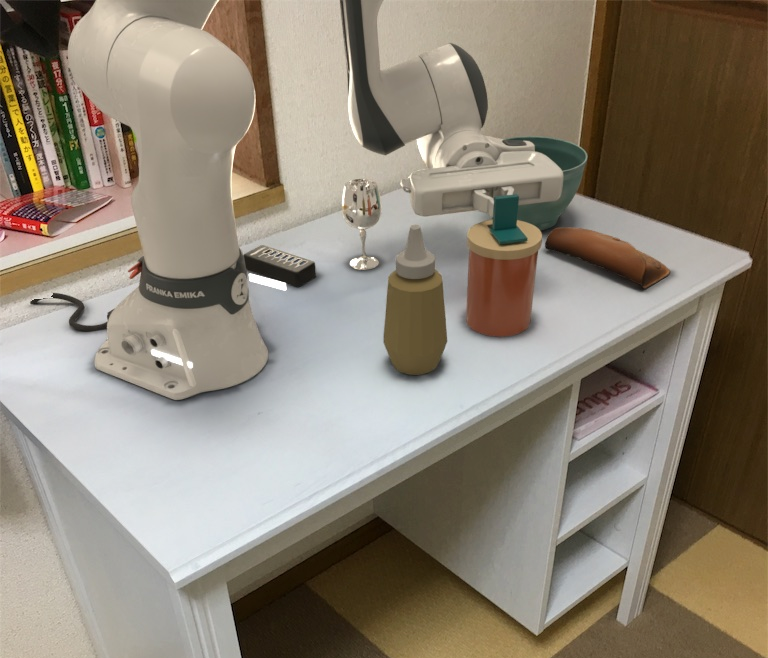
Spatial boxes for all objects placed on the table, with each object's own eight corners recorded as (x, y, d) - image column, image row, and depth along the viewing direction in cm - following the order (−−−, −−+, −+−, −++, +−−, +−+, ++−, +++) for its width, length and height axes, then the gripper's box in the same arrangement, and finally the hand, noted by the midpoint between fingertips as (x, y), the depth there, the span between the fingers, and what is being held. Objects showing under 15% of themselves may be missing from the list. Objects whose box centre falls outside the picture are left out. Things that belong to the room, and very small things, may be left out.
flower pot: (584, 206, 139) (594, 139, 131) (570, 246, 127) (579, 176, 120) (491, 197, 143) (495, 132, 135) (469, 235, 131) (472, 166, 124)
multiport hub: (298, 287, 120) (296, 273, 118) (244, 269, 125) (242, 254, 123) (317, 276, 122) (316, 261, 121) (263, 258, 127) (261, 244, 126)
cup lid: (552, 254, 101) (553, 245, 101) (480, 263, 100) (480, 254, 99) (525, 224, 108) (526, 215, 107) (458, 232, 107) (458, 223, 106)
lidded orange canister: (540, 331, 109) (549, 253, 102) (477, 340, 108) (481, 262, 100) (517, 300, 115) (524, 225, 108) (457, 309, 114) (460, 233, 107)
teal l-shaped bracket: (527, 240, 101) (530, 205, 98) (499, 244, 100) (502, 209, 97) (516, 227, 104) (519, 193, 101) (489, 231, 103) (491, 196, 100)
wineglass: (375, 274, 122) (372, 194, 114) (340, 269, 124) (334, 190, 116) (388, 257, 126) (386, 179, 118) (353, 253, 128) (349, 175, 120)
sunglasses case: (675, 269, 120) (670, 238, 114) (646, 305, 119) (640, 276, 114) (577, 232, 130) (568, 203, 124) (550, 266, 129) (540, 238, 124)
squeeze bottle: (441, 384, 101) (445, 244, 88) (377, 378, 102) (372, 240, 90) (451, 349, 106) (455, 214, 94) (390, 344, 108) (387, 210, 95)
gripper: (396, 155, 108) (423, 194, 98) (542, 139, 111) (582, 176, 101) (397, 202, 112) (423, 244, 102) (537, 185, 115) (576, 225, 106)
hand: (503, 210), depth 102 cm, fingers closed, pressing on teal l-shaped bracket
